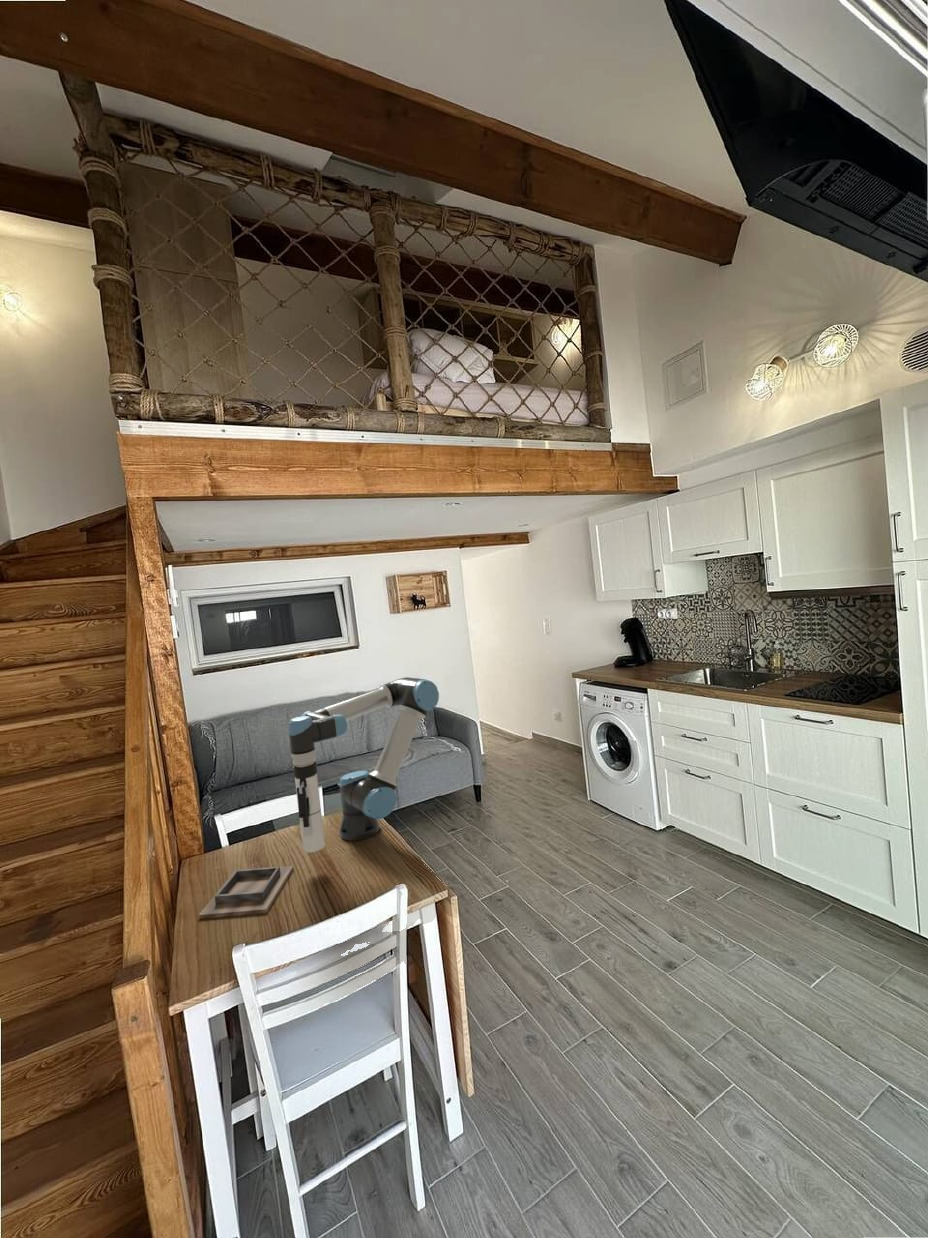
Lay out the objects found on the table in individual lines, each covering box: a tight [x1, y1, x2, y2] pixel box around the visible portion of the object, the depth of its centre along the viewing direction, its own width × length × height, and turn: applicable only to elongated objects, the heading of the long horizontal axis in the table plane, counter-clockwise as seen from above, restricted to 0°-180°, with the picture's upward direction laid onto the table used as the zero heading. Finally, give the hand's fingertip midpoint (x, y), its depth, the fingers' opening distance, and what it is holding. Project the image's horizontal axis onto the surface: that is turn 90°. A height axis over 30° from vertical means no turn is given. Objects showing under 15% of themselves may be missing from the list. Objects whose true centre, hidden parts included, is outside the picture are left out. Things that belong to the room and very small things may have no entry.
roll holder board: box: [198, 865, 294, 920], centre depth 160 cm, size 20×24×4 cm
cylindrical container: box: [294, 772, 326, 854], centre depth 170 cm, size 7×7×25 cm
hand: (312, 829), depth 170 cm, fingers closed on cylindrical container, 7 cm apart
